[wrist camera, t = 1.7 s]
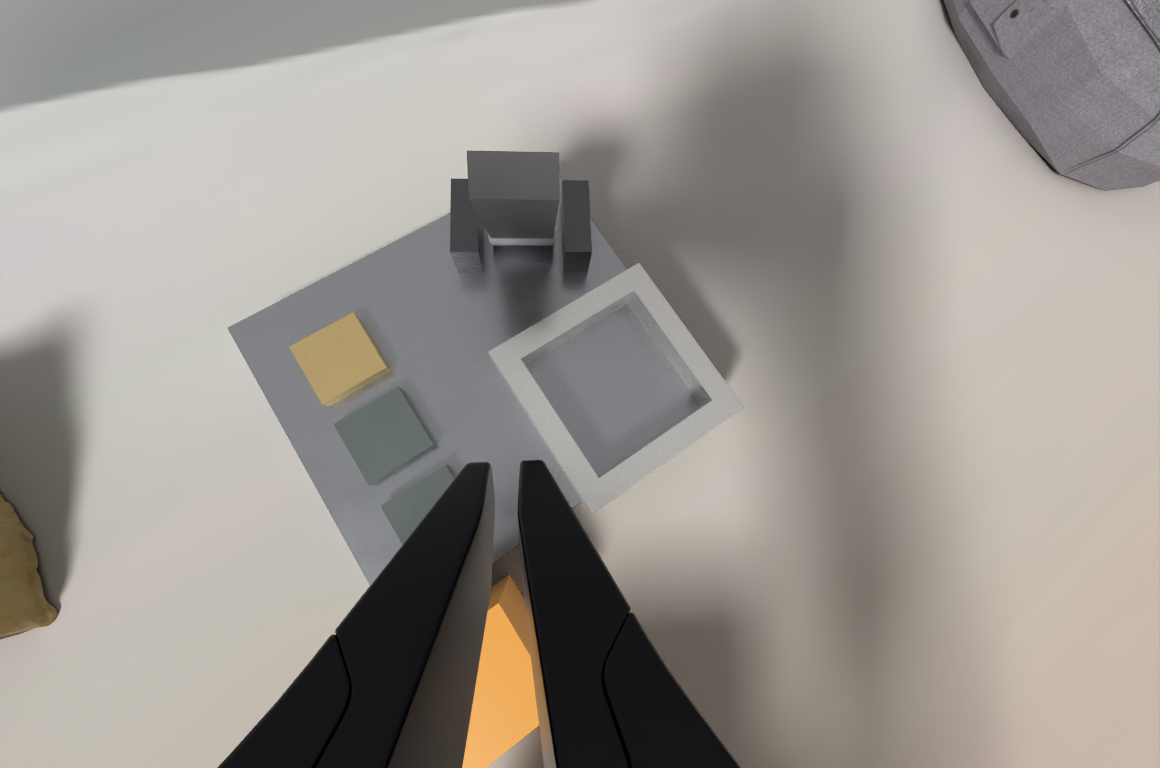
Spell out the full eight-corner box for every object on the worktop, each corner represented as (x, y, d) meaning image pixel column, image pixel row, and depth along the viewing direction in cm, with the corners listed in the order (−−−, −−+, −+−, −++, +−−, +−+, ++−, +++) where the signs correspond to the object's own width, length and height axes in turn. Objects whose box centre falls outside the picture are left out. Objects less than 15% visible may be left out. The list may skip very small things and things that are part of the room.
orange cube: (556, 652, 20) (560, 707, 15) (478, 711, 19) (457, 790, 14) (509, 573, 20) (498, 602, 16) (431, 628, 20) (395, 676, 15)
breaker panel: (714, 417, 23) (750, 403, 19) (415, 626, 20) (384, 662, 16) (549, 184, 25) (550, 129, 21) (254, 339, 22) (191, 308, 18)
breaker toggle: (554, 248, 22) (562, 206, 14) (492, 248, 21) (466, 205, 14) (553, 210, 22) (561, 145, 14) (490, 209, 21) (463, 143, 13)
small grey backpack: (890, -10, 30) (1052, 239, 27) (1017, -189, 22) (1270, 135, 19) (1056, -55, 33) (1223, 170, 29) (1225, -231, 25) (1482, 51, 21)
